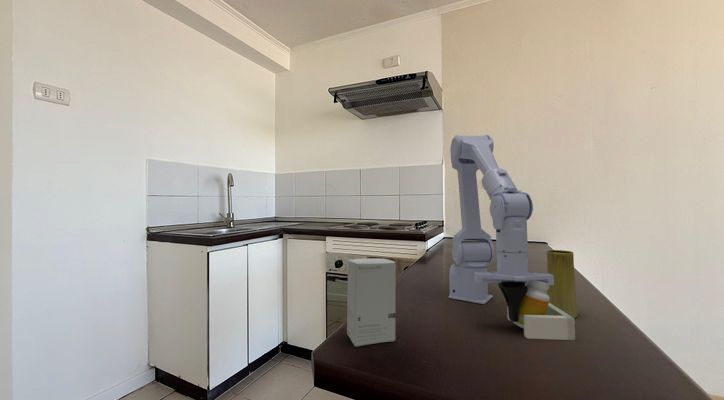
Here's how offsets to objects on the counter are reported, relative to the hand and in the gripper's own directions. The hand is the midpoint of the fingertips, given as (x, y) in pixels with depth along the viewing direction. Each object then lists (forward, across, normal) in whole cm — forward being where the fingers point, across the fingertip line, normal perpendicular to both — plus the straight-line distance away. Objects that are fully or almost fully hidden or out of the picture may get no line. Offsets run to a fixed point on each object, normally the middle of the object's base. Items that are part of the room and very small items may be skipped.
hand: (514, 320), depth 60 cm
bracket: (+2, +5, +1) cm, 6 cm away
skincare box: (+3, -28, -6) cm, 29 cm away
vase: (+2, +14, +11) cm, 18 cm away
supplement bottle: (+2, +2, +1) cm, 3 cm away
